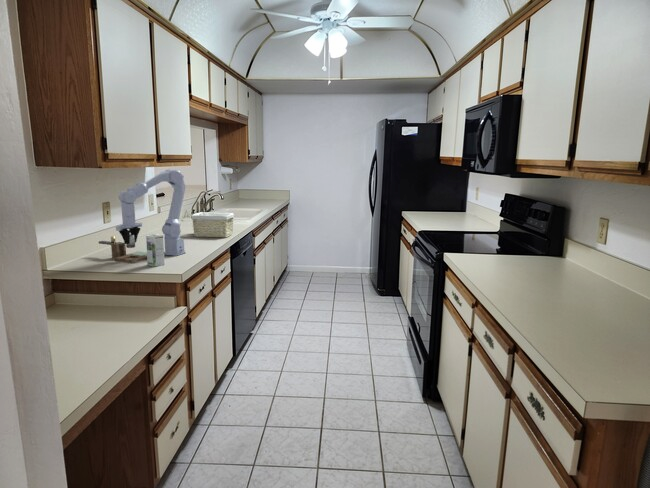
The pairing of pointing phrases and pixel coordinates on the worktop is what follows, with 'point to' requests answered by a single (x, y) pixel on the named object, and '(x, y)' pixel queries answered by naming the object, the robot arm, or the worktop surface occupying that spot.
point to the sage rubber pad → (139, 253)
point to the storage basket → (212, 224)
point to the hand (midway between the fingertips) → (130, 243)
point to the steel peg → (131, 241)
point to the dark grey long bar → (111, 242)
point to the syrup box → (155, 250)
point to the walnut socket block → (124, 254)
